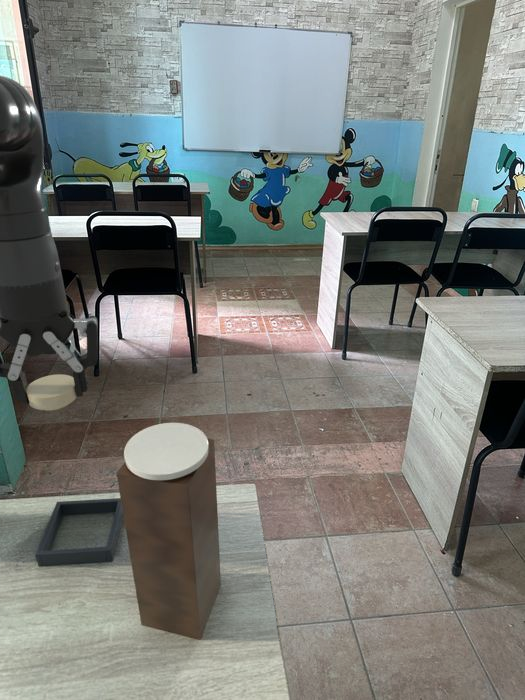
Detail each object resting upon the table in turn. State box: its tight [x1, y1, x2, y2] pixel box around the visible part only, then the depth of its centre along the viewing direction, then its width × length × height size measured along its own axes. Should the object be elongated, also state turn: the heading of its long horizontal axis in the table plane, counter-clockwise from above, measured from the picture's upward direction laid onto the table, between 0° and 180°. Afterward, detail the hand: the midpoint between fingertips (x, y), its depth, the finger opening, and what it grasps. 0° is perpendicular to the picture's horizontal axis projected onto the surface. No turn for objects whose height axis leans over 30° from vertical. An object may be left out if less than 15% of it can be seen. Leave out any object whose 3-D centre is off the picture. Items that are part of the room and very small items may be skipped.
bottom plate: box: [123, 422, 209, 480], centre depth 52 cm, size 9×9×1 cm
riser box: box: [116, 437, 222, 641], centre depth 58 cm, size 8×8×26 cm
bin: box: [35, 497, 124, 568], centre depth 73 cm, size 10×10×4 cm
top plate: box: [26, 373, 78, 412], centre depth 62 cm, size 6×6×2 cm
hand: (53, 397), depth 62 cm, fingers closed on top plate, 6 cm apart
